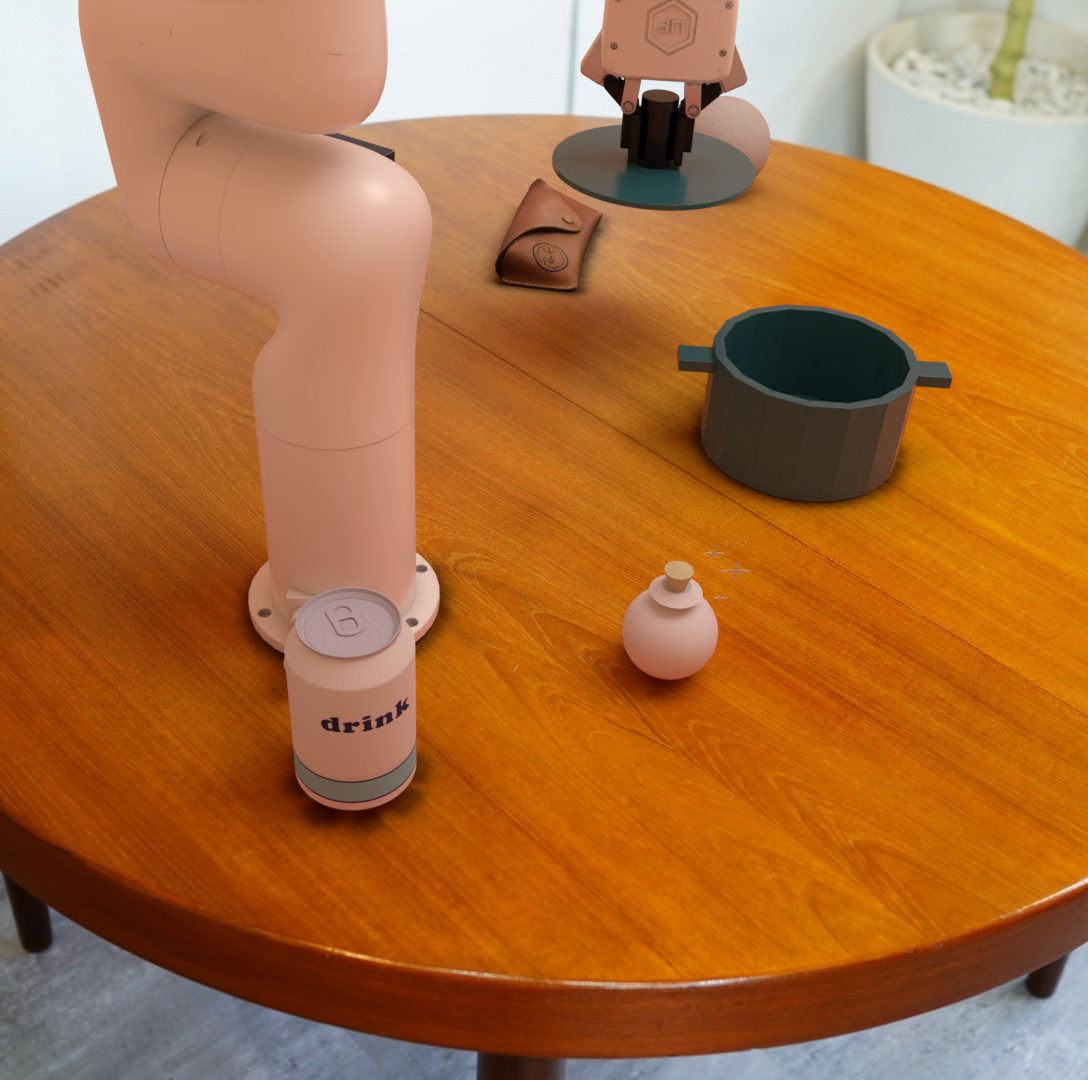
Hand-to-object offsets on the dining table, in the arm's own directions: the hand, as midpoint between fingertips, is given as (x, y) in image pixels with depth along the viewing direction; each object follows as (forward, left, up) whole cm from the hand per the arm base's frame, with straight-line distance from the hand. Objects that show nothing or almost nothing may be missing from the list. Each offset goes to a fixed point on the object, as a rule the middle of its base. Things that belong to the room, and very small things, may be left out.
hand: (654, 156), depth 108 cm
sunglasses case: (+18, +8, -18) cm, 26 cm away
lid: (0, 0, -1) cm, 1 cm away
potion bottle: (-42, -2, -18) cm, 46 cm away
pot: (-15, -13, -17) cm, 26 cm away
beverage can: (-53, +17, -18) cm, 58 cm away
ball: (+36, -10, -18) cm, 41 cm away
